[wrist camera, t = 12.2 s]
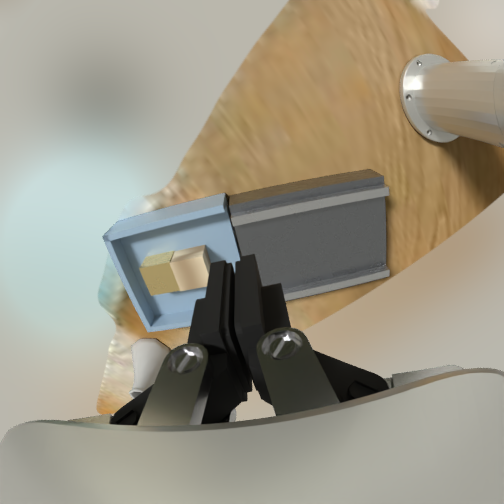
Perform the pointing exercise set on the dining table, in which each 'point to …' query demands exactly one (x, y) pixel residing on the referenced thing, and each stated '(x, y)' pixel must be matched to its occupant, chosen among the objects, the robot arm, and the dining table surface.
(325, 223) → the slot block
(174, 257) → the beige square block
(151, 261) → the olive yellow block
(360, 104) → the dining table surface
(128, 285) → the tray
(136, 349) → the flask
